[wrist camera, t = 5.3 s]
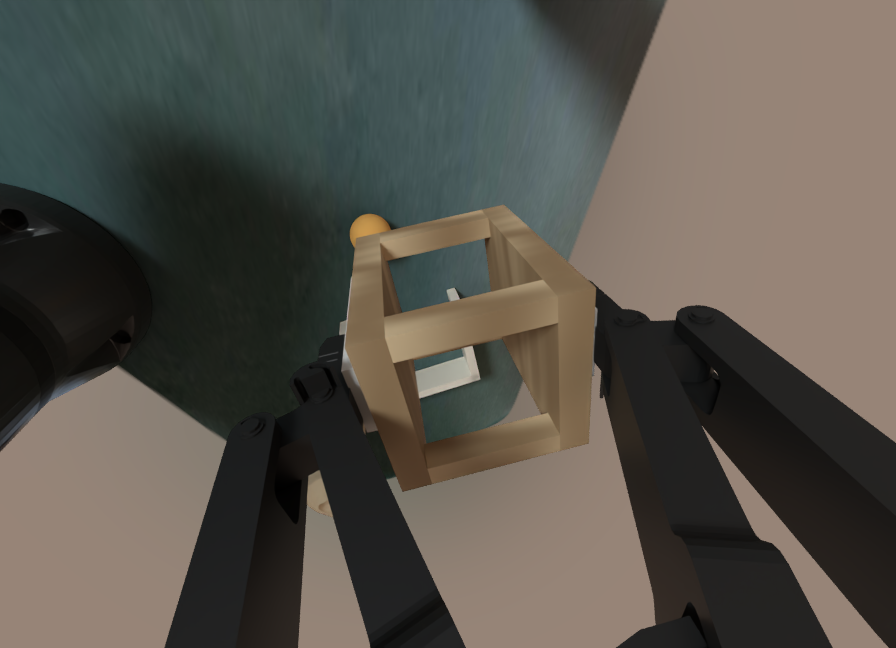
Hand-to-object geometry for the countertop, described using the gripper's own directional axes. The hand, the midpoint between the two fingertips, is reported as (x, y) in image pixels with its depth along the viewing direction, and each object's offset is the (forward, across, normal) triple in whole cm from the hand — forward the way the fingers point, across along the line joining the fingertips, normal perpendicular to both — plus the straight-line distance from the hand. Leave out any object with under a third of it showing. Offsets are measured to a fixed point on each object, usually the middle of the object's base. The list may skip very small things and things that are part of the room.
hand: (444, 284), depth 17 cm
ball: (+15, -4, -2) cm, 16 cm away
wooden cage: (0, 0, 0) cm, 0 cm away
